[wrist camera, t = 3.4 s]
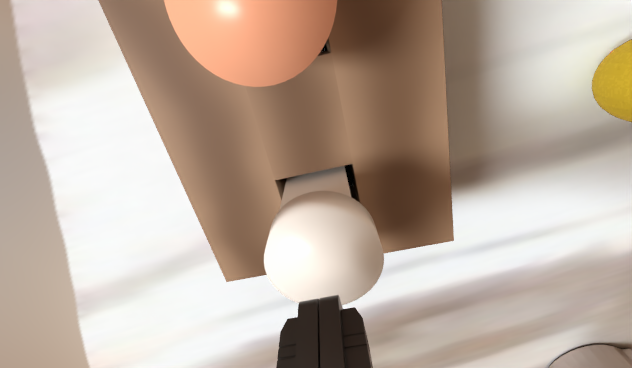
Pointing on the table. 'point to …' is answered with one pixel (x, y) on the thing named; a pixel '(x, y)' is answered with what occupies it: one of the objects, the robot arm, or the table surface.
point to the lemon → (615, 82)
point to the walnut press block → (304, 125)
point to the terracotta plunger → (253, 36)
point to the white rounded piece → (322, 240)
